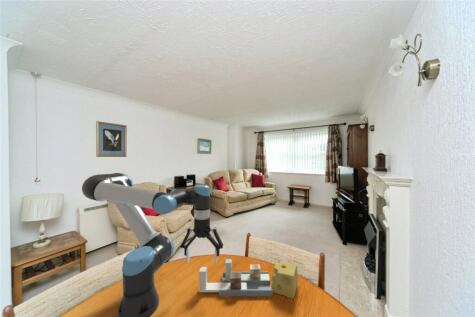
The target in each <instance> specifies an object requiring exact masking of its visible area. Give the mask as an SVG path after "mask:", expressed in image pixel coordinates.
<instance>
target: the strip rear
mask: <svg viewBox="0 0 475 317" xmlns="http://www.w3.org/2000/svg"><path fill="white" fill-rule="evenodd" d="M224 265H225V269H224V270H225V271H224V272H226V280H230V276H231V273H232V272H233V260H232V258H225V264H224ZM260 275H261V279H260V280H270V281H271V279H270V274H269V273H268V274H260ZM241 280H251V278H250V274H241Z"/></svg>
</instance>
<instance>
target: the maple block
mask: <svg viewBox="0 0 475 317" xmlns="http://www.w3.org/2000/svg"><path fill="white" fill-rule="evenodd" d="M260 265H261V264H259V263H258V264H257V263H254V264H249V272H250V278H251V280H260V279H261V275H260V272H261V266H260Z"/></svg>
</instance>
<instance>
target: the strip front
mask: <svg viewBox="0 0 475 317" xmlns="http://www.w3.org/2000/svg"><path fill="white" fill-rule="evenodd" d="M198 280H199V283H198V284H199V290H198V292H199V293H219V290H220V289H230V283H221V282H208V266H201V267H200V269H199V272H198ZM241 289H247V283H241Z"/></svg>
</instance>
